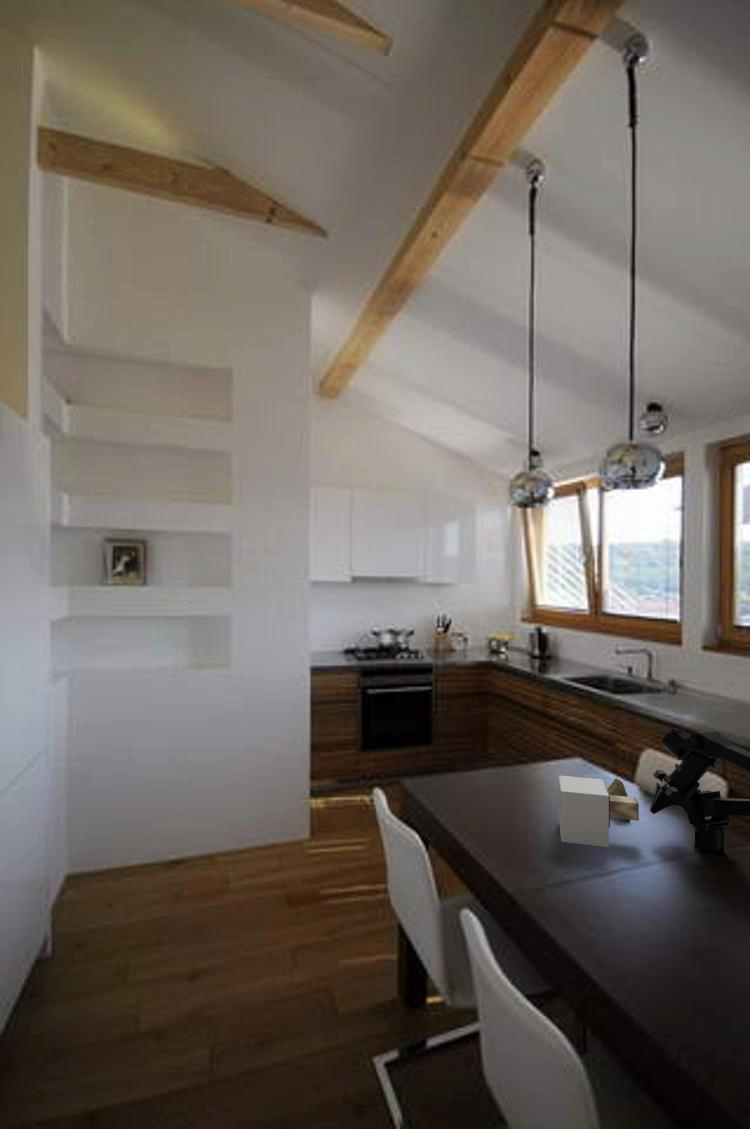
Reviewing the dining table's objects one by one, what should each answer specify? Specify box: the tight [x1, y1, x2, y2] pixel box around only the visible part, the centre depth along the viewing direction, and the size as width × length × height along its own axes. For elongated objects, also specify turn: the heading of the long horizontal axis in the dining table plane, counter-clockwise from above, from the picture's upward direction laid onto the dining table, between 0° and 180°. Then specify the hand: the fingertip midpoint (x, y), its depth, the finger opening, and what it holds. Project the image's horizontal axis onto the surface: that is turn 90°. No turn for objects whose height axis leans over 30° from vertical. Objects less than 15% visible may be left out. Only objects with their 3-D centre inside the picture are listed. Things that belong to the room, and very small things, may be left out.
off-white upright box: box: [558, 775, 611, 848], centre depth 159 cm, size 13×13×14 cm
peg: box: [610, 795, 640, 822], centre depth 157 cm, size 12×5×5 cm, turn 75°
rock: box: [607, 778, 631, 822], centre depth 172 cm, size 11×9×10 cm
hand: (651, 812), depth 157 cm, fingers closed
